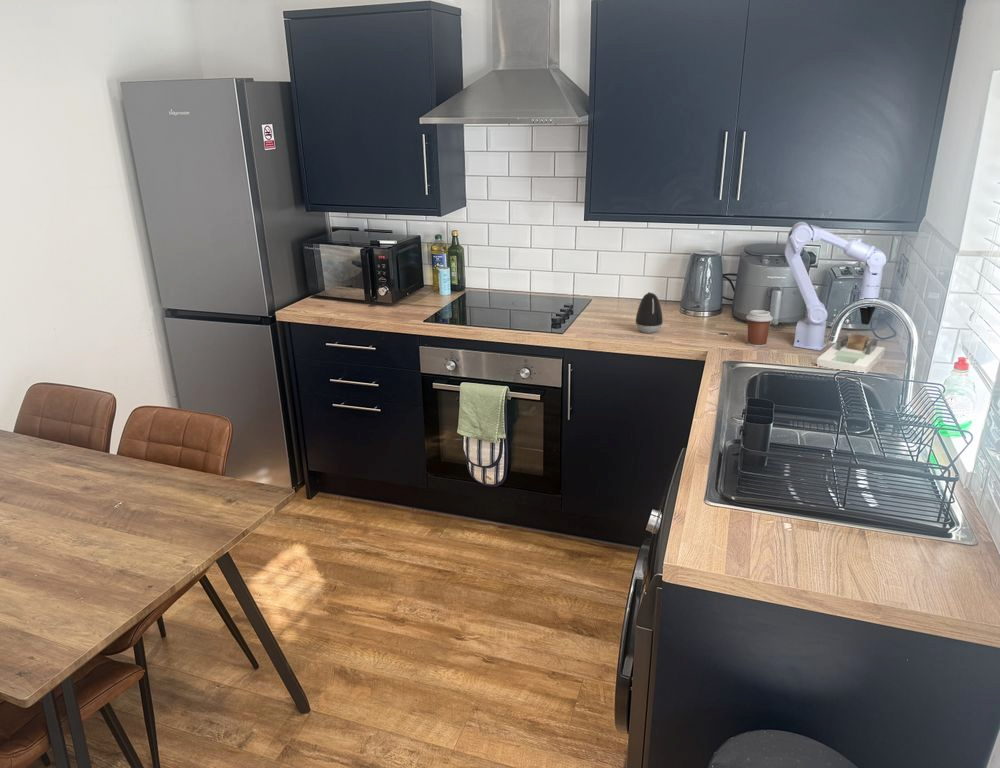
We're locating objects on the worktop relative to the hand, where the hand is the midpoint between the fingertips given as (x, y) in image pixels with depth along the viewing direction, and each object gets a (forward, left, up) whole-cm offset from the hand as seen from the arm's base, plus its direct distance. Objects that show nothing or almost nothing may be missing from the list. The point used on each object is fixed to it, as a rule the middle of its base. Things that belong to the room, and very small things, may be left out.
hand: (865, 323), depth 254 cm
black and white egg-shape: (-72, -20, -10) cm, 75 cm away
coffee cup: (-32, -14, -10) cm, 36 cm away
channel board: (0, -14, -9) cm, 17 cm away
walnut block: (0, -8, -7) cm, 10 cm away
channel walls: (0, -9, -7) cm, 11 cm away
